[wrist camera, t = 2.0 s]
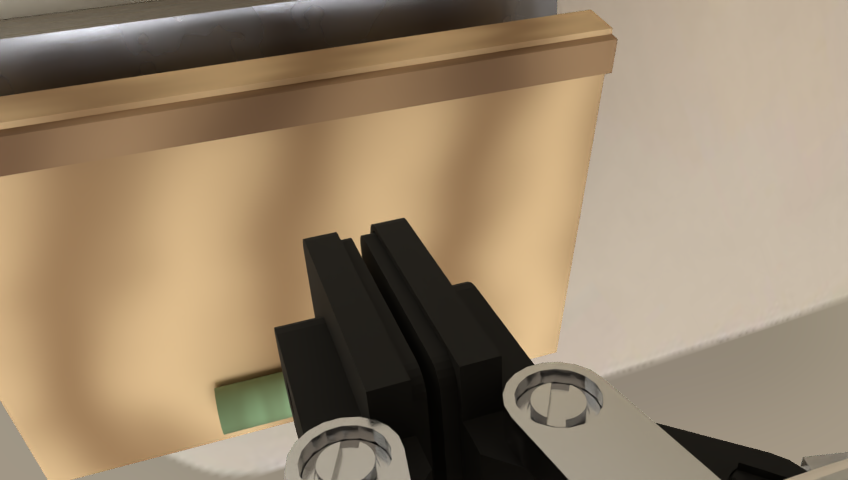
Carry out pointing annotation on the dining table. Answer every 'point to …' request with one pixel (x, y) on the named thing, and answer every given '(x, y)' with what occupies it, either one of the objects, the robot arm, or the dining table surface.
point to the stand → (218, 34)
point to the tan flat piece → (271, 219)
